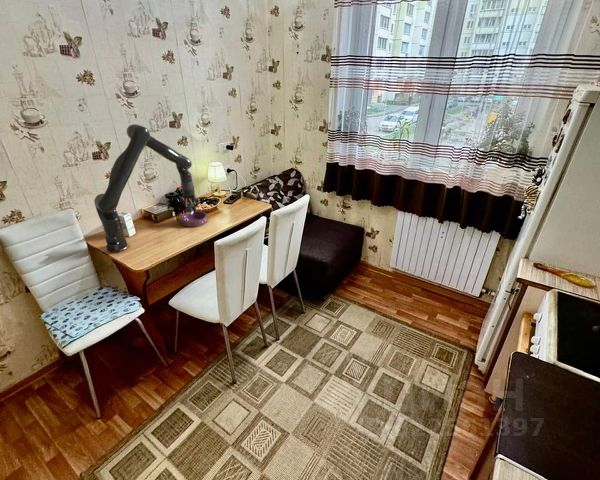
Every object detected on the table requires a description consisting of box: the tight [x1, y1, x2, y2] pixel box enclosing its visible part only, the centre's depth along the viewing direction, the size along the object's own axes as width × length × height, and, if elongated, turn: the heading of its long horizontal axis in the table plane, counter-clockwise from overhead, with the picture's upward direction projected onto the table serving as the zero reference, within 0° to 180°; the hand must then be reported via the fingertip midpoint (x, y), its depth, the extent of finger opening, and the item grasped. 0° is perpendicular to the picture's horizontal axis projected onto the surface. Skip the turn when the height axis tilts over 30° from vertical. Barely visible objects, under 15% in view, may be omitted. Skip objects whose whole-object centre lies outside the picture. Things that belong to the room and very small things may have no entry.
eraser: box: [185, 203, 198, 214], centre depth 208 cm, size 8×4×4 cm, turn 173°
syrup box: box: [118, 211, 137, 238], centre depth 193 cm, size 6×6×14 cm
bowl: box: [180, 210, 208, 227], centre depth 214 cm, size 17×17×4 cm
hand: (191, 211), depth 209 cm, fingers closed on eraser, 3 cm apart
